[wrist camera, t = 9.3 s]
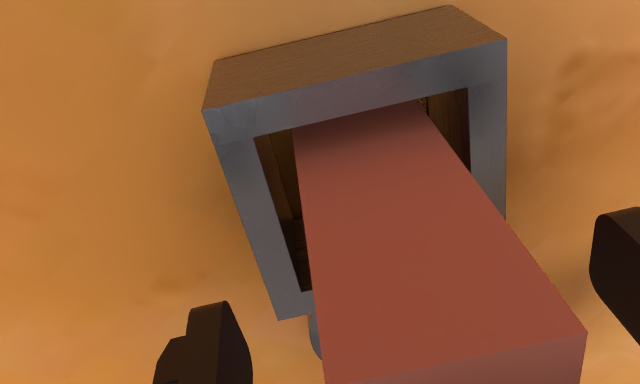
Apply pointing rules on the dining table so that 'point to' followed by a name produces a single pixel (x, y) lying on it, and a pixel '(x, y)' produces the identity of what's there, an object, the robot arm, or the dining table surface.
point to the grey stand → (344, 99)
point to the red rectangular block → (421, 263)
